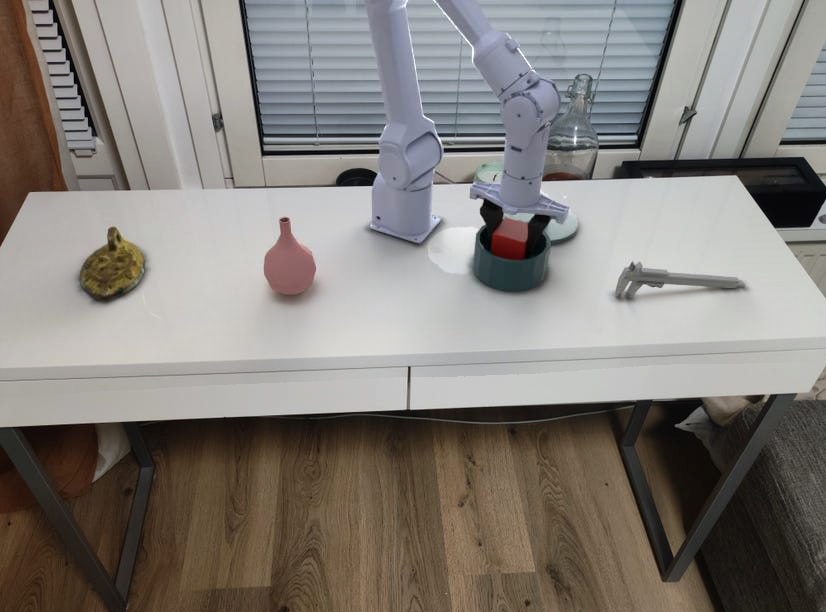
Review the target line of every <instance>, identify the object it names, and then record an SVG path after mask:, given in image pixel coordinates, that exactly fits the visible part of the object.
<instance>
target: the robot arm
mask: <svg viewBox="0 0 826 612" xmlns="http://www.w3.org/2000/svg"><path fill="white" fill-rule="evenodd" d="M433 1H434V3H435V4H436V5H437V6H438V7H439V9H440V10H441V11H442V13H443V14H444V15H445V16H446V17H447V19H448V20H449V21H450V22H451V23H452V25H453V26H454V27H455V28H456V30H457V31H458V32H459V34H460V35H462V36H463V38H464V39H465V41H466V42H467V43H468V44H469V46H470V47H471V48H472V51H471V64H472V65H473V67H474V68H475V69H476V71H477V72H478V74H479V75H480V77H481V78H482V80H483V81H484V82H485V84H486V85H487V86H488V87H489V90H491V92H492V93H493V95H494V96H495V98H496V99H497V100H498V102H499V103H500V105H501V106H502V107H500V108H499V114H500V115H499V116H500V119H501V122H502V124H503V125H502V126H503V127H504V128H505V137H504V138H505V140H504V141H505V142H504V150H503V159H502V166H501V167H502V168H501V175H500V183H490V182H489V183H488V182H481V181H477V180H476V181H474V182H473V183H472V184H471V186H470V188H469V197H468V198H469V199H471V200H474V201H475V200H477V199H480V200H483V201H482V205H481V206H480V208H479V216H481V218H482V220H483V222H484V225H485V224H486V226H487V229H488V233H489V237H490V243H491V246H492V237H493V233H494V232H495V230H496V229H497V228H498V226H499V225H500V224H501V222H502V220H503V219H504V216H505V213H507V214H510V215H516V214H517V213H529V214H534V216H533V217H532V218H531V220H530V221H529V223H528V225H527V227H528V240H527V246H526V252H525V257H526V258H530V257H531V255H532V254H533V252H534V249H535V246H536V244H537V242H538V239H539V237H540V236H541V234H542V232H543V231H544V229H545V228H546V227H547V225H548V224H549V222H550V221H551V219H554V220H556V223H558V224H562V225H563V224H564V222H565V221H566V219H567V217H568V212H569V209H570V206H569V205H564V204H562V203H560V202H558V201H556V200H554V199H553V198H550V197H548V196H546V195H544V194H542V193H541V188H542V182H543V176H544V172H545V171H544V170H545V164H546V158H547V151H548V145H549V138H550V130H551V122H550V121H552V120H553V119H554V118H555V117H556V116H557V115H558V114H559V112H560V109H561V107H562V96H561V92H560V91H559V88H558V87H557V84H556V82H554V80H552V79H551V78H548V77H546V76H543V75H541V74H540V73H539V72H538V71H536V70H534V69H533V67H532V66H531V64H530V63H529V62H528V60H527V59H526V58H525V56H524V54H523V53H522V52H521V50H520V49H519V47H520V43H519V42H518V41H517V39H516V38H515V37H513V38H512V37H511V36H510V34H509V33H508V32H504V31H501V30H495V29H494V28H493V26H492V24H491V23H490V21H489V19H488V18H487V16H486V14H485V12H484V11H483V10H482V8H481V6H480V5H479V3H478V1H477V0H433ZM408 2H409V0H364V5H365V6H364V7H365V12H366V18H367V21H368V27H369V32H370V38H371V44H372V48H373V54H374V58H375V63H376V64H375V65H376V69H377V75H378V80H379V85H380V91H381V96H382V101H383V106H384V113H385V118H386V125H385V126H384V129H383V131H382V133H381V135H380V137H379V139H378V142H377V143H378V149H379V156H378V159H377V167H378V168H377V169H378V173H377V174H376V177H375V178H374V180H373V184H372V188H371V224H370V225H369V228H370V229H371V230H372V231H373V230H374V231H377V232H380V233H383V234H386V235H389V236H393V237H395V238H400V239H403V240H406V241H408V242H411V243H412V242H413V243H415V244H419V245H420V244H422V243H423V242H424V241H425V239H426V238H428V236H430V234H431V233H432V231H433V230H434V229H435V228H436V227H437V226H439V223H440V222H441V219H442V218H441V217H438V216H436V215H433V194H434V175H435V174H436V167H437V166H439V165H440V164H441V162H442V161H443V159H444V155H445V154H444V146H443V143H442V141H441V139H440V137H439V135H438V133H437V131H436V125H435V122H434V121H433V120H432V119H430V118H428V117H426V116H425V115H424V112H423V111H424V110H423V105H422V99H421V94H420V87H419V81H418V75H417V67H416V61H415V56H414V49H413V43H412V37H411V31H410V25H409V19H408V13H407V12H408V11H407V3H408Z"/></svg>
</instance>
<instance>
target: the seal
mask: <svg viewBox="0 0 826 612" xmlns="http://www.w3.org/2000/svg"><path fill="white" fill-rule="evenodd" d="M106 239H107V243H106V244H104V245H103V246H101V247H99V248H98V249H96V250H95V251H93V252H92V253H91V254H90V255H89V256H88V257H87V258H86V259H85V261H84V262H83V265H82V266H81V269H80V271H79V282H80V286H81V287H82V289H83V290H84V291H85V292H86V293H87V294H88V295H89V296H90V297H92V298H94V299H95V300H97V301H103V302H105V301H108V300H110V299H111V298H113V297H117V296H118V295H125V294H127V293H128V292H130V291H131V290H132V289H134V288H136V286H137V285H138V284H139V283H140V282H141V280H142V279H143V276H144V274H145V267H146V264H145V263H146V262H145V261H146V260H145V257H144V255H143V252H142V250H140V248H138V247H137V246H136V245H135V244H133V243H132V242H130V241H129V240H127V239H125V238H124V237H123V236H122V235H121V232H120V230H119V229H118V228H117V227H116V226H113V225H112V226H110V227H109V228H108V229H107V234H106Z"/></svg>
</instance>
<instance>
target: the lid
mask: <svg viewBox="0 0 826 612" xmlns="http://www.w3.org/2000/svg"><path fill="white" fill-rule="evenodd" d="M533 216H534V214H529V213H517V214H516V215H510V214H507V213H504V218H505V217H507V218H510V219H514V220H522V221H525V222H529V221H530V220H531V218H532V217H533ZM578 229H579V219H578V216H577V214H575V212H574V211H572V209H570V208H569V212H568V217H567V219H566V221H565V222H564V224H563V225H562V224H558V223H556V220H554V219H551V221H550V222H549V224H548V225H547V227H546V228H545V229H544V231H545V232H546V234H547V235H548V236H549V237H550V243H551V244H552V243H554V244H555V243H559V242H562V241H565V240H568V239H570V238H572V237H573V236H574V235H576V233H577V232H578Z"/></svg>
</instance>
